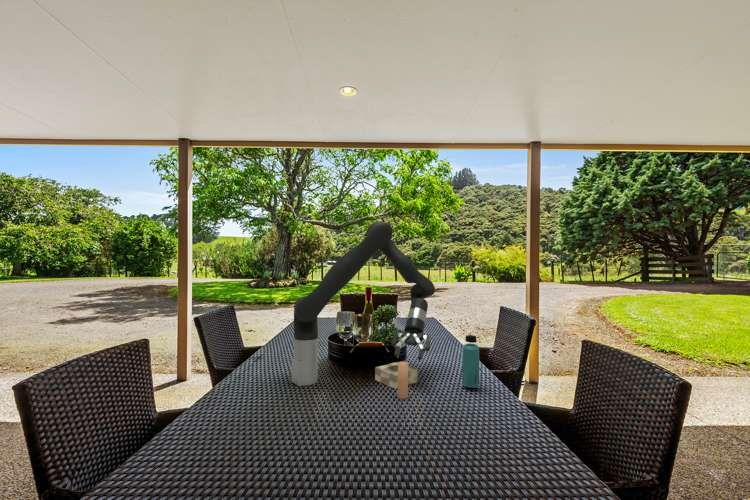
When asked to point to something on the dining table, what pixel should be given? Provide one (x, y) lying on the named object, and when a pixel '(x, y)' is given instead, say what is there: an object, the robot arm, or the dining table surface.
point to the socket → (394, 375)
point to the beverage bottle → (470, 363)
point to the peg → (402, 380)
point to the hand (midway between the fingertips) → (407, 358)
